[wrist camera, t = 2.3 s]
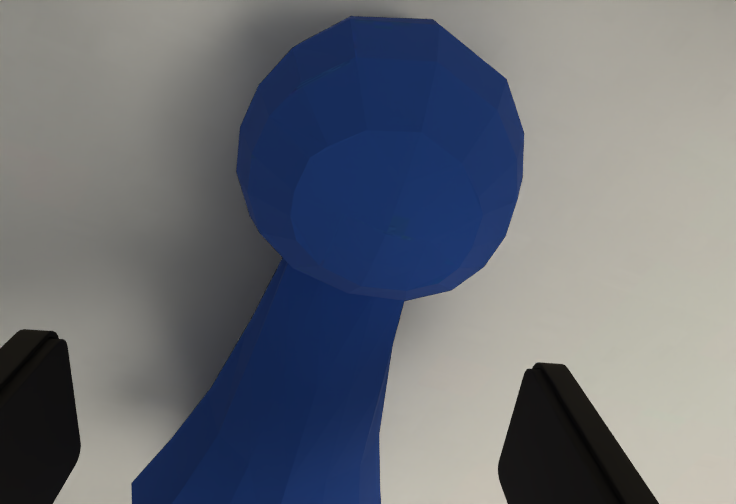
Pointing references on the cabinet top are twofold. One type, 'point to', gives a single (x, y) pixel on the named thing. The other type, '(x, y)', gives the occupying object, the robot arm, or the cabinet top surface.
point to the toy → (345, 255)
